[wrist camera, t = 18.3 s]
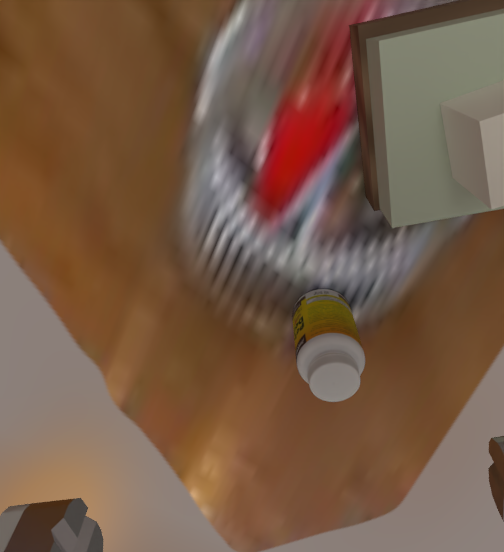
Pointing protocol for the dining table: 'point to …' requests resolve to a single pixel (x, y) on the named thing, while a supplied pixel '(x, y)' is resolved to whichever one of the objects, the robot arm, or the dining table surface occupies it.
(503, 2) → the tower base
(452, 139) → the cream block
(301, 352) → the supplement bottle
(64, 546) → the robot arm
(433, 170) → the tower top
